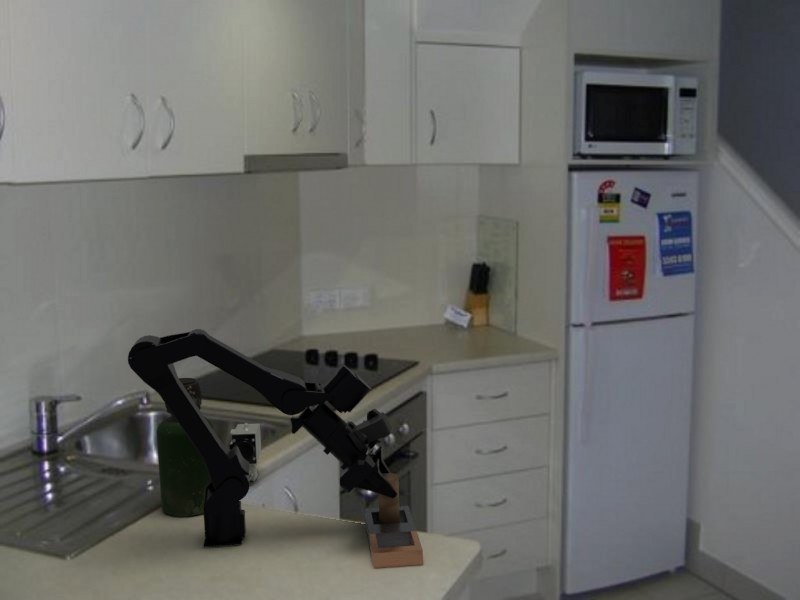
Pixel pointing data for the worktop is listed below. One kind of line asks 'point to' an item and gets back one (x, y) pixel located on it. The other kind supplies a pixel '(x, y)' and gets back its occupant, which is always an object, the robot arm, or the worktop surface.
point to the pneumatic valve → (248, 444)
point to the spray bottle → (181, 463)
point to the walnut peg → (389, 502)
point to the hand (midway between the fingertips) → (396, 492)
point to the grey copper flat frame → (393, 540)
